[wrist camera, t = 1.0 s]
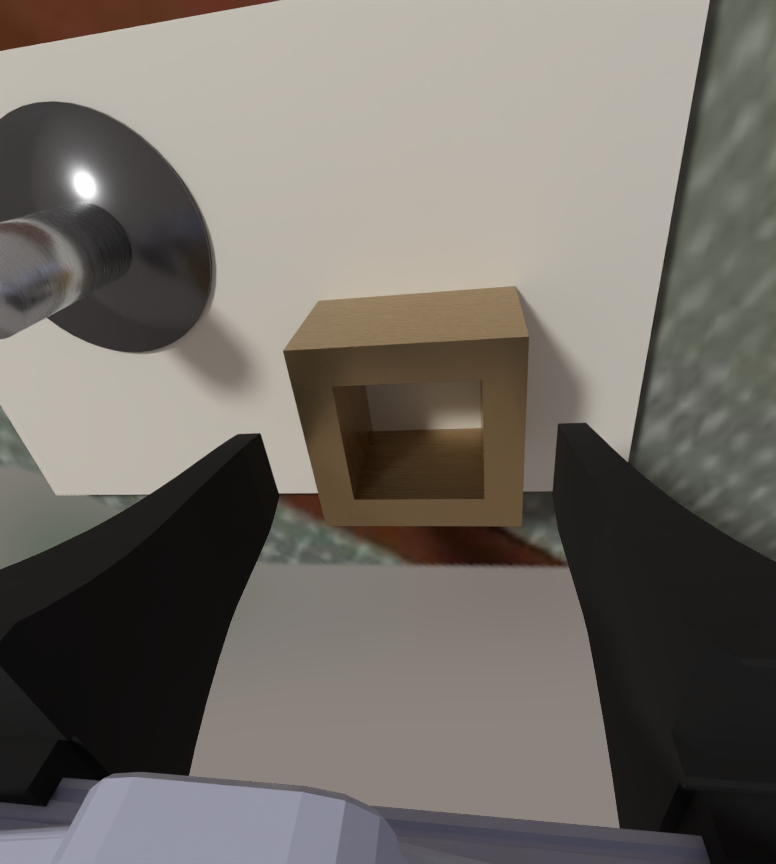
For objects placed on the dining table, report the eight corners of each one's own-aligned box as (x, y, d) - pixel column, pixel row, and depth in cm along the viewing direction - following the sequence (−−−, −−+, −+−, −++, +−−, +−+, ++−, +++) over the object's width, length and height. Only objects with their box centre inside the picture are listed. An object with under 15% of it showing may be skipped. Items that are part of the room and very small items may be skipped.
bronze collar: (515, 286, 14) (529, 336, 11) (511, 452, 17) (521, 526, 14) (318, 300, 15) (282, 350, 12) (348, 455, 18) (325, 525, 15)
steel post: (162, 83, 12) (29, 76, 8) (239, 344, 16) (171, 420, 12) (-72, 120, 13) (-280, 129, 10) (50, 356, 17) (-65, 428, 13)
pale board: (707, -68, 10) (723, -80, 10) (617, 475, 18) (623, 490, 17) (-164, 87, 14) (-196, 86, 13) (68, 482, 21) (55, 495, 21)
